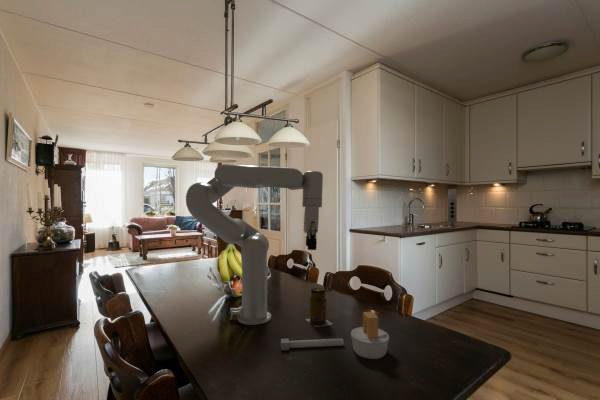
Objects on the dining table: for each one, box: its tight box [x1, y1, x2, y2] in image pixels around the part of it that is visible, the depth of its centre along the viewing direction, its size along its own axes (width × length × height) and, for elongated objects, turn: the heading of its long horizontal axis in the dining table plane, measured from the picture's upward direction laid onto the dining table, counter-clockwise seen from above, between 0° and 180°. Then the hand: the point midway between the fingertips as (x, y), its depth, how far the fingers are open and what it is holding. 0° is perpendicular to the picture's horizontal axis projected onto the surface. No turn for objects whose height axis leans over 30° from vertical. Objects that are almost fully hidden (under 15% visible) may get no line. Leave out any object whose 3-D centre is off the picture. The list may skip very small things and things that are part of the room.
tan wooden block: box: [362, 311, 379, 338], centre depth 90 cm, size 3×5×6 cm, turn 6°
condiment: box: [304, 287, 333, 328], centre depth 112 cm, size 7×8×12 cm
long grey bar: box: [280, 338, 345, 351], centre depth 93 cm, size 20×3×2 cm, turn 96°
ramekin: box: [350, 326, 390, 360], centre depth 90 cm, size 11×11×5 cm
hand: (310, 247), depth 116 cm, fingers open, 9 cm apart
